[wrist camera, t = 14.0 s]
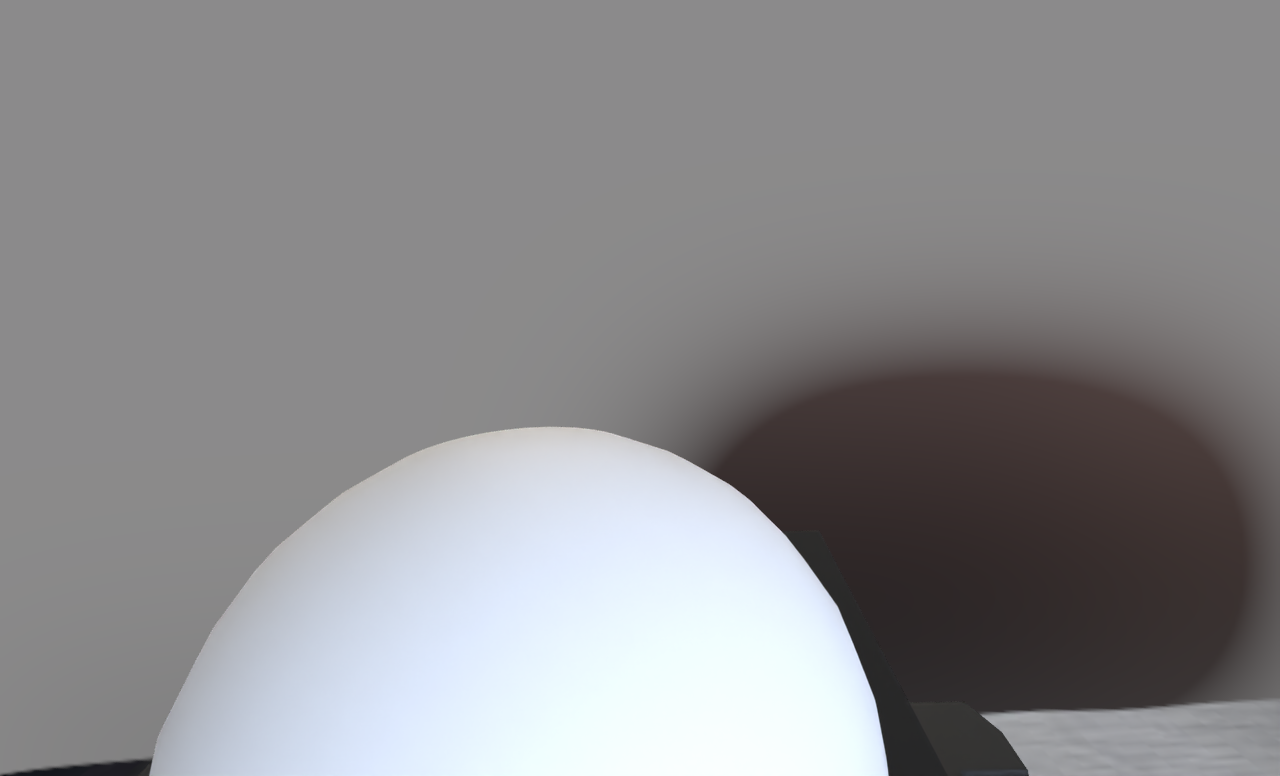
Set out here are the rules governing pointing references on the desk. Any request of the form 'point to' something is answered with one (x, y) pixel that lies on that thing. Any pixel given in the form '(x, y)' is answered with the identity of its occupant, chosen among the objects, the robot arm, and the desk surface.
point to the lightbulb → (530, 630)
